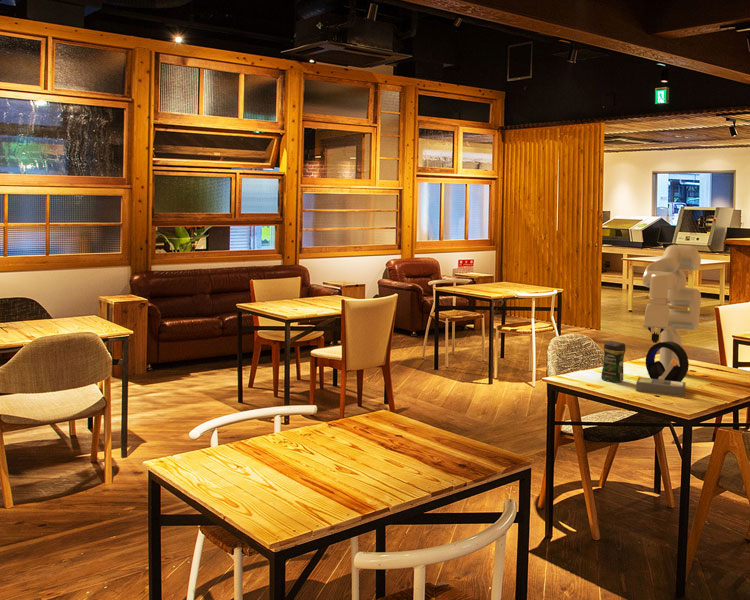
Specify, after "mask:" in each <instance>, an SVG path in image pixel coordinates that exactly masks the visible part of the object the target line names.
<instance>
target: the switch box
mask: <svg viewBox="0 0 750 600" xmlns="http://www.w3.org/2000/svg"><path fill="white" fill-rule="evenodd" d="M660 377H661V376H659V378H658V379H651V378H650V377H640V376H638V377H637V380H636V386H635V392H640V393H641V392H642V393H643V392H644V393H651V394H658V395H659V394H660V395H665V396H666V395H667V396H675V397H682V398H683V397H685V393H686V383H687V382H684V381H681V382H677V381H668V380H664V378H660Z"/></svg>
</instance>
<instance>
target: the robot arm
mask: <svg viewBox="0 0 750 600" xmlns="http://www.w3.org/2000/svg"><path fill="white" fill-rule="evenodd" d="M701 264H702V260H701V255H700V252H699V251H698V249H697V248H696V247H695V246H692V245H682V244H680V245H679V244H671V245H668V246H666V248H665V250H664V252H663V254H662V256H661V258H660V259H658V260H656V261H654V262H652V263H650V264H648V265H647V266H646V268H645V270H644V273H643V275H642V280H641V281H642V285H643V287H646V288H649V294H648V296H649V298H648V303H647V304H646V307H645V313H644V319H643V320H644V321H643V326H642V327H643V329H645V330H648V331H649V332H650V333H651V341H652V344H653V343H654V344H657V343H658V342H659V340H660V342H667V341H670V342H675V343H677V344H679V345H680V346H681V347H682V341H683V340H682V335H681V333H680V332H679V331H678V330H683V331H684V330H685V331H695V330H697V329H698V327H699V323H700V315H701V313H700V312H701V304H702V296H701V292H700V290H699V289H697V288H695V287H694V288H693V287H692V288H691V287H686V286H687V285H686V283H687V275H686V274H685V273H684V271H697V270H698V269H699V268H700V267H701ZM670 306H672V307H677V308H688V309H689V310H687V309H686V310H685V309H677V308H670ZM655 328H657V331H655ZM660 336H661V337H660ZM658 359H659V360H658V361H660V362H661V363H662V364H663V366H664V368H665V371H666V369H667V368H668V367H669V365H670V364H671V363H670V362H671V361H672V359H675V360H676V361H678V363H677V364H676V365H678V366H680V365H679V359H678V357H677V355H676V354H675V353H674V352H673V351H672V350H670V349H668V348H664V347H663V348H661V349H659V358H658Z"/></svg>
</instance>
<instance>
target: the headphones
mask: <svg viewBox="0 0 750 600" xmlns="http://www.w3.org/2000/svg"><path fill="white" fill-rule="evenodd" d="M663 347H664V348H668V349H670V350H672V351H673V352H674V353H675V354H676V355H677V357H678V359H679V366H678V365H676V366H674V367H673V368H672V369H671V371H670V372H669V373H668V375H667V376H666V377H665V379H664V380H668V381H677V382H683V380H684V379H685V377H686V375H687V374H688V371H689V367H690V366H689V365H690V363H689V357H688V355H687V352H686V350H685V349H684V348H683V347H682V345H681V346H680V345H679V344H677V343H675V342H670V341H667V342H661V341H660V342H657V343H654V344H653V345H652V346H651V347H650V348H649V349H648V351H647V353H646V356H645V368H646V371H647V373H648V376H649V378H651V379H658V378H659V376H662V375H663V373H664V372H665V368H664V366H663V364H662V363H661V362H660V361H659V360H656V361H655V359H656V355H657V353H658V351H660V349H661V348H663Z"/></svg>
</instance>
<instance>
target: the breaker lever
mask: <svg viewBox="0 0 750 600" xmlns="http://www.w3.org/2000/svg"><path fill="white" fill-rule="evenodd" d="M670 363H671V364H670V365H669V367H668V368H667V369H666V371H665V372H664V373H663V375H662V376H661V377H660V378H664V379H665V377H666V376H667V375H668V373H669V372H670V371H671V369H672V368H673V367H674V366H676V364H677V363H678V361H676V360H675V359H672V361H671V362H670Z"/></svg>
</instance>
